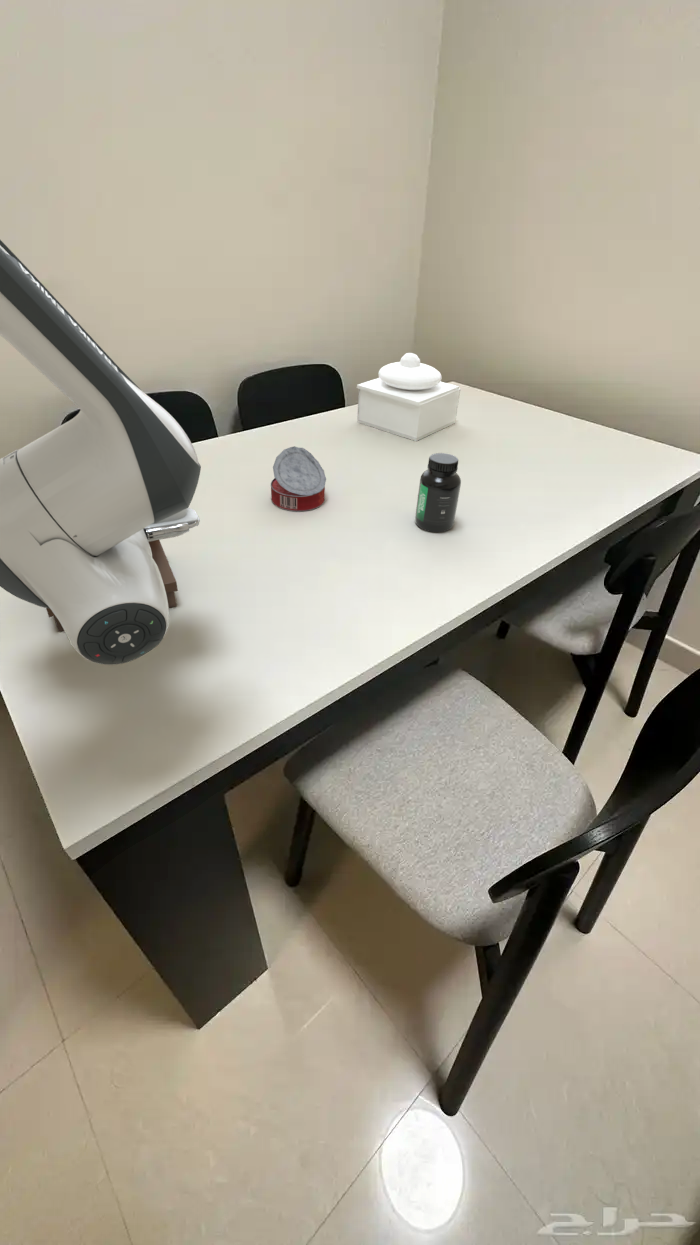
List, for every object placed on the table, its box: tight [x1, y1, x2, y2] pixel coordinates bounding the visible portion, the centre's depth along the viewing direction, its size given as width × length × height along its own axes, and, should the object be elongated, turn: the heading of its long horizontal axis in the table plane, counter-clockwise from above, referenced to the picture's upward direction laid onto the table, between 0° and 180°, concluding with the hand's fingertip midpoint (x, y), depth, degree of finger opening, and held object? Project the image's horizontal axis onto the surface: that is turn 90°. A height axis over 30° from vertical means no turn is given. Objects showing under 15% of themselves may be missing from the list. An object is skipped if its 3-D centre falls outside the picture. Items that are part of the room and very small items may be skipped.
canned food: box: [270, 446, 327, 512], centre depth 106 cm, size 11×10×10 cm
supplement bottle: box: [414, 452, 462, 533], centre depth 99 cm, size 7×7×12 cm
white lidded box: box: [356, 352, 461, 442], centre depth 138 cm, size 18×18×16 cm
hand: (86, 488), depth 68 cm, fingers open, 8 cm apart
